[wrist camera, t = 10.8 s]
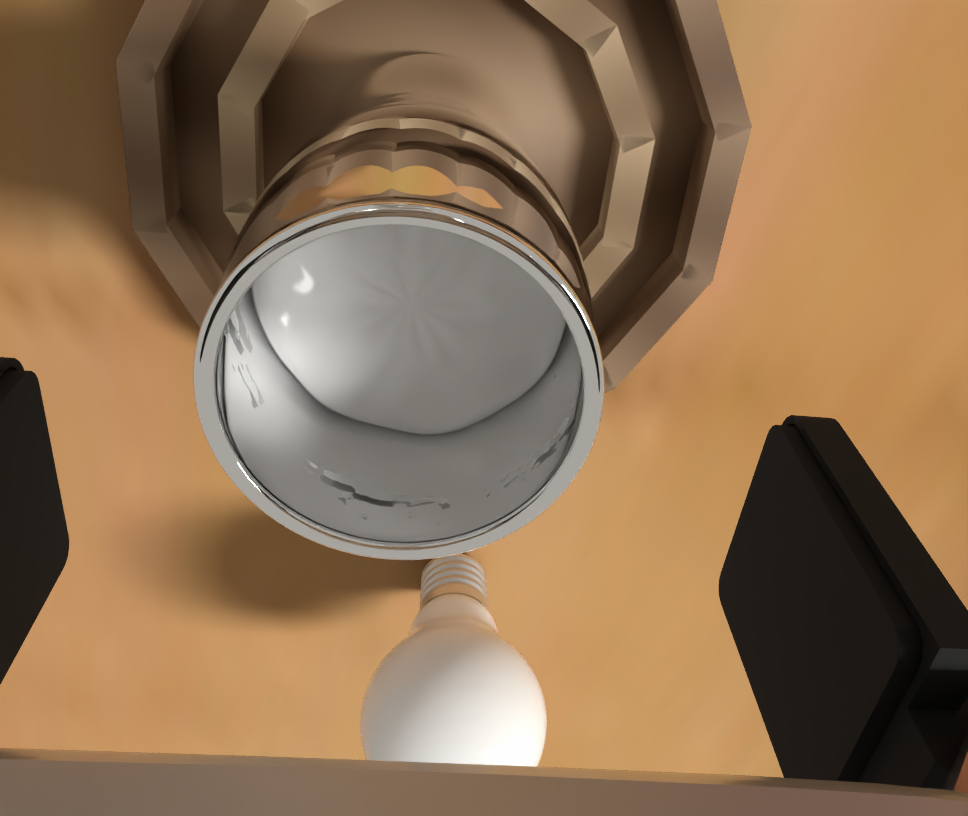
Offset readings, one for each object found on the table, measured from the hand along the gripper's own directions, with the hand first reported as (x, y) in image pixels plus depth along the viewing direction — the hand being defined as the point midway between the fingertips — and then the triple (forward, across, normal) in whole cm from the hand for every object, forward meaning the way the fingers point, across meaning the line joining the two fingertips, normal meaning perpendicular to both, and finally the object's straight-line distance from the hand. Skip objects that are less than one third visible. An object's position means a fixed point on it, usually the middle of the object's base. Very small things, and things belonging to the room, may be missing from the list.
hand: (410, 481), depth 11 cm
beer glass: (+18, 0, +1) cm, 18 cm away
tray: (+19, 0, +1) cm, 19 cm away
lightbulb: (+18, -2, +18) cm, 26 cm away
